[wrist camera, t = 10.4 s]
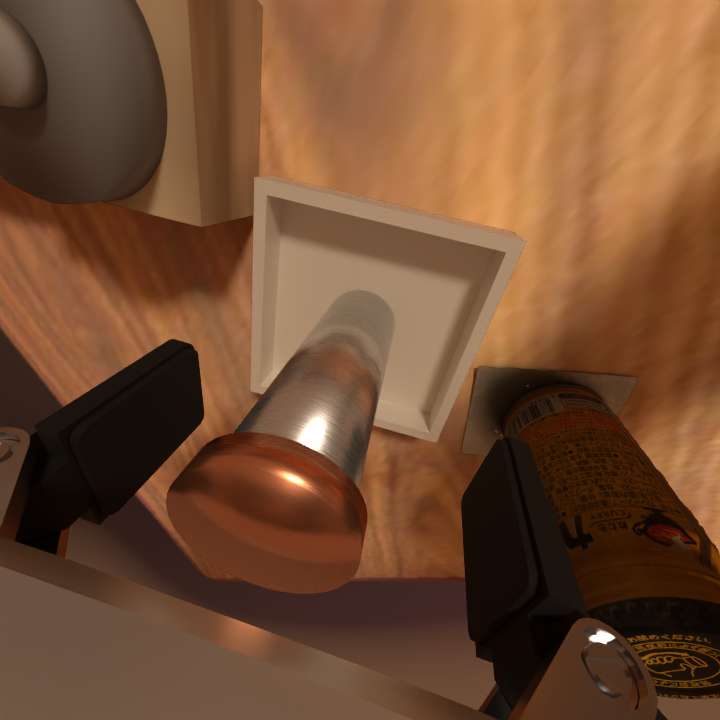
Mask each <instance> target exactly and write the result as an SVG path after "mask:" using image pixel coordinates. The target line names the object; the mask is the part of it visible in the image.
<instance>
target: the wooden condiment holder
mask: <svg viewBox="0 0 720 720" xmlns="http://www.w3.org/2000/svg"><path fill="white" fill-rule="evenodd" d="M261 48H262V5H261V4H260V3H259V2H258V1H257V0H0V177H2V178H4V179H5V180H7V181H8V182H9V183H11V184H12V185H14V186H16V187H18V188H19V189H21V190H23V191H24V192H27V193H29V194H31V195H33V196H35V197H37V198H40V199H43V200H47V201H50V202H54V203H60V204H83V203H96V202H103V203H107V204H111V205H115V206H119V207H123V208H127V209H131V210H135V211H139V212H143V213H147V214H151V215H155V216H159V217H163V218H167V219H171V220H175V221H179V222H183V223H187V224H191V225H195V226H199V227H204V226H209V225H213V224H218V223H222V222H226V221H231V220H235V219H240V218H244V217H248V216H253V215H254V177H258V176H259V134H260V91H261Z"/></svg>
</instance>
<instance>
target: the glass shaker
mask: <svg viewBox="0 0 720 720" xmlns="http://www.w3.org/2000/svg"><path fill="white" fill-rule="evenodd" d="M394 330H395V318H394V314H393V312H392V310H391V308H390V306H389V305H388V304H387V302H386V301H385V300H384V299H382V298H381V297H380V296H378V295H377V294H374V293H372V292H369V291H365V290H352V291H348V292H346V293H344V294H342V295H340V296H339V297H338V298H336V299H335V301H334V302H333V303H332V304H331V306H330V307H329V308H328V310H327V311H326V312H325V314H324V315H323V316H322V317H321V319H320V320H319V321H318V323H317V324H316V325H315V327H314V328H313V329H312V331H311V332H310V333H309V335H308V336H307V337H306V338H305V340H304V341H303V342H302V344H301V345H300V346H299V348H298V349H297V350H296V352H295V353H294V354H293V356H292V357H291V358H290V360H289V361H288V362H287V363H286V365H285V366H284V367H283V369H282V370H281V371H280V373H279V374H278V375H277V377H276V378H275V379H274V381H273V382H272V383H271V384H270V386H269V387H268V388H267V390H266V391H265V392H264V394H263V395H262V396H261V398H260V399H259V400H258V402H257V403H256V404H255V405H254V407H253V408H252V409H251V411H250V412H249V413H248V415H247V416H246V417H245V419H244V420H243V421H242V423H241V424H240V425H239V426H238V428H237V429H236V430H235V432H234V433H233V434H228V435H224V436H221V437H218V438H216V439H214V440H212V441H210V442H208V443H207V444H206V445H205V446H204V447H203V448H201V450H200V451H199V452H198V453H197V454H196V456H195V457H194V458H193V459H192V460H191V462H190V463H189V464H188V465H187V466H186V468H185V469H184V470H183V471H182V472H181V474H180V475H179V476H178V477H177V478H176V480H175V481H174V482H173V483H172V485H171V486H170V488H169V490H168V493H167V498H166V505H167V511H168V515H169V518H170V520H171V522H172V524H173V526H174V527H175V529H176V531H177V532H178V533H179V535H180V536H181V537H182V538H183V540H184V541H185V542H186V543H187V544H188V545H189V546H190V547H191V548H192V549H193V550H194V551H196V552H197V553H198V554H199V555H200V556H202V557H203V558H204V559H206V560H207V561H209V562H210V563H212V564H213V565H215V566H216V567H218V568H220V569H221V570H223V571H225V572H227V573H229V574H231V575H233V576H235V577H237V578H239V579H241V580H244V581H246V582H249V583H252V584H254V585H258V586H261V587H264V588H268V589H272V590H277V591H282V592H289V593H300V594H311V593H321V592H326V591H330V590H333V589H336V588H339V587H341V586H343V585H344V584H346V583H347V582H349V581H350V580H351V579H352V578H353V577H354V575H355V574H356V572H357V570H358V567H359V564H360V559H361V553H362V548H363V542H364V537H365V531H366V526H367V508H366V504H365V501H364V498H363V496H362V494H361V492H360V491H359V485H360V480H361V476H362V472H363V467H364V463H365V458H366V454H367V450H368V445H369V441H370V436H371V432H372V427H373V423H374V419H375V414H376V410H377V405H378V401H379V397H380V392H381V388H382V383H383V379H384V375H385V370H386V366H387V361H388V357H389V352H390V348H391V344H392V339H393V335H394Z"/></svg>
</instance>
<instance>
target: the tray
mask: <svg viewBox="0 0 720 720" xmlns="http://www.w3.org/2000/svg"><path fill="white" fill-rule="evenodd" d="M526 242H527V241H525V240H524V239H523V238H521V237H520V236H518V235H517V234H515V233H514V232H510V231H506V230H502V229H497V228H493V227H489V226H485V225H480V224H476V223H472V222H468V221H463V220H459V219H455V218H451V217H446V216H442V215H438V214H434V213H429V212H425V211H421V210H417V209H412V208H408V207H404V206H400V205H396V204H391V203H387V202H383V201H379V200H374V199H370V198H366V197H362V196H357V195H353V194H349V193H345V192H340V191H336V190H332V189H328V188H323V187H319V186H315V185H311V184H306V183H302V182H298V181H294V180H289V179H285V178H281V177H254V223H253V280H252V338H251V391H252V392H256V393H259V394H264V392H265V391H266V390H267V388H268V387H269V386H270V384H271V383H272V382H273V381H274V379H275V378H276V377H277V375H278V374H279V373H280V371H281V370H282V369H283V367H284V366H285V365H286V363H287V362H288V361H289V360H290V358H291V357H292V356H293V354H294V353H295V352H296V350H297V349H298V348H299V346H300V345H301V344H302V342H303V341H304V340H305V338H306V337H307V336H308V335H309V333H310V332H311V331H312V329H313V328H314V327H315V325H316V324H317V323H318V321H319V320H320V319H321V317H322V316H323V315H324V314H325V312H326V311H327V310H328V308H329V307H330V306H331V304H332V303H333V302H334V301H335V299H336V298H338V297H339V296H340V295H342V294H344V293H346V292H348V291H352V290H365V291H369V292H372V293H374V294H377V295H378V296H380V297H381V298H382V299H384V300H385V301H386V302H387V304H388V305H389V306H390V308H391V310H392V312H393V314H394V318H395V330H394V335H393V339H392V344H391V348H390V352H389V357H388V361H387V366H386V370H385V375H384V379H383V383H382V388H381V392H380V397H379V401H378V405H377V410H376V414H375V419H374V423H373V425H374V426H377V427H381V428H384V429H388V430H392V431H395V432H399V433H402V434H406V435H409V436H413V437H417V438H420V439H424V440H427V441H431V442H434V443H436V442H437V440H438V438H439V436H440V434H441V431H442V429H443V427H444V425H445V422H446V420H447V418H448V416H449V414H450V411H451V409H452V407H453V405H454V402H455V400H456V398H457V396H458V393H459V391H460V389H461V387H462V385H463V382H464V380H465V378H466V376H467V373H468V371H469V369H470V367H471V364H472V362H473V360H474V358H475V356H476V353H477V351H478V349H479V347H480V344H481V342H482V340H483V338H484V335H485V333H486V331H487V329H488V327H489V324H490V322H491V320H492V318H493V315H494V313H495V311H496V309H497V307H498V304H499V302H500V300H501V298H502V295H503V293H504V291H505V289H506V286H507V284H508V282H509V280H510V278H511V275H512V273H513V271H514V269H515V266H516V264H517V262H518V260H519V257H520V255H521V253H522V251H523V249H524V246H525V244H526Z"/></svg>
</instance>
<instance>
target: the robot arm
mask: <svg viewBox="0 0 720 720" xmlns="http://www.w3.org/2000/svg"><path fill="white" fill-rule="evenodd" d="M203 418H204V406H203V397H202V387H201V378H200V368H199V359H198V353H197V351H196V350H194V347H193V345H191V344H189V343H185V342H182V341H179V340H175V339H171V340H169V341H167V342H165V343H164V344H162V345H161V346H159V347H157V348H156V349H154V350H153V351H151V352H150V353H148V354H146V355H145V356H143V357H142V358H140V359H139V360H137V361H135V362H134V363H132V364H131V365H129V366H127V367H126V368H124V369H123V370H121V371H120V372H118V373H116V374H115V375H113V376H112V377H110V378H109V379H107V380H105V381H104V382H102V383H101V384H99V385H98V386H96V387H94V388H93V389H91V390H90V391H88V392H87V393H85V394H83V395H82V396H80V397H79V398H77V399H76V400H74V401H72V402H71V403H69V404H68V405H66V406H65V407H63V408H61V409H60V410H58V411H57V412H55V413H54V414H52V415H50V416H49V417H48V418H46V419H44V420H43V421H41V422H39V423H38V424H36V425H35V426H34V427H35V429H36V431H37V432H35V433H34V434H32V435H31V436H29V435H28V434H27V432H25V431H23V430H21V429H18V428H10V427H7V428H0V720H668V719H667V718H666V717H665V716H664V715H663V714H662V713H661V712H660V710H659V709H658V708H657V703H658V698H657V694H656V690H655V686H654V682H653V680H652V678H651V676H650V674H649V672H648V669H647V667H646V666H645V664H644V663H643V661H642V660H641V658H640V657H639V655H638V654H637V652H636V651H635V650H634V648H633V647H632V646H631V645H630V644H629V643H628V642H627V641H626V639H625V638H624V637H623V636H621V635H620V634H619V633H618V632H616V631H615V630H614V629H613V628H612V627H610V626H608V625H607V624H605V623H603V622H601V621H599V620H596V619H592V618H589V616H588V613H587V610H586V607H585V604H584V601H583V598H582V595H581V592H580V589H579V586H578V582H577V579H576V576H575V573H574V570H573V567H572V564H571V561H570V558H569V555H568V552H567V549H566V546H565V543H564V539H563V536H562V533H561V530H560V527H559V524H558V521H557V518H556V515H555V512H554V509H553V506H552V504H551V502H550V500H549V499H548V498H547V497H546V495H545V492H544V489H543V486H542V482H541V479H540V476H539V473H538V470H537V466H536V463H535V460H534V457H533V454H532V451H531V447H530V445H529V443H528V442H525V441H522V440H519V439H515V438H512V437H508V436H506V437H504V438H503V440H500V439H498V440H496V442H495V443H494V445H493V446H492V448H491V450H490V451H489V453H488V455H487V456H486V458H485V460H484V461H483V463H482V465H481V466H480V468H479V469H478V471H477V473H476V474H475V476H474V478H473V479H472V481H471V483H470V484H469V486H468V488H467V489H466V491H465V493H464V495H463V497H462V503H461V510H462V528H463V546H464V564H465V581H466V598H467V617H468V632H469V636H470V639H471V640H472V641H475V643H476V657H478V658H481V659H484V660H486V661H489V662H492V663H493V667H494V677H495V681H496V684H495V686H494V687H493V689H492V690H491V692H490V693H489V695H488V696H487V698H486V699H485V701H484V702H483V704H482V705H481V707H480V708H479V710H475V709H473V708H470V707H468V706H465V705H462V704H460V703H457V702H455V701H452V700H450V699H447V698H444V697H442V696H440V695H437V694H434V693H432V692H429V691H427V690H424V689H422V688H419V687H417V686H414V685H411V684H409V683H406V682H404V681H401V680H399V679H396V678H393V677H390V676H388V675H385V674H382V673H380V672H377V671H374V670H371V669H369V668H366V667H363V666H361V665H358V664H355V663H352V662H350V661H347V660H344V659H342V658H339V657H336V656H333V655H331V654H328V653H325V652H323V651H320V650H317V649H315V648H312V647H309V646H306V645H304V644H301V643H298V642H296V641H293V640H290V639H287V638H285V637H282V636H279V635H276V634H274V633H271V632H268V631H265V630H263V629H260V628H257V627H254V626H251V625H249V624H246V623H243V622H240V621H238V620H235V619H232V618H230V617H227V616H224V615H221V614H218V613H216V612H213V611H210V610H207V609H205V608H202V607H199V606H197V605H194V604H191V603H188V602H186V601H183V600H180V599H177V598H175V597H172V596H169V595H166V594H164V593H161V592H158V591H155V590H152V589H149V588H147V587H144V586H141V585H138V584H136V583H133V582H130V581H127V580H124V579H121V578H119V577H116V576H113V575H110V574H108V573H104V572H102V571H99V570H96V569H94V568H91V567H88V566H85V565H82V564H79V563H77V562H74V561H71V560H68V559H66V558H65V557H66V552H67V547H68V541H69V536H70V530H71V525H72V524H73V523H74V522H75V521H76V520H77V519H78V518H79V517H81V519H84V520H87V521H90V522H93V523H95V524H98V525H100V524H101V523H102V522H103V521H104V520H105V519H106V518H107V517H108V516H109V515H113V514H115V513H116V512H118V511H119V510H120V509H121V508H122V507H123V506H124V505H125V504H126V503H127V501H128V500H129V499H130V498H131V497H132V496H133V495H134V494H135V493H136V492H137V491H138V490H139V489H140V488H141V487H142V485H143V484H144V483H145V482H146V481H147V480H148V479H149V478H150V477H151V476H152V475H153V474H154V473H155V472H156V471H157V470H158V468H159V467H160V466H161V465H162V464H163V463H164V462H165V461H166V460H167V459H168V458H169V457H170V456H171V455H172V454H173V452H174V451H175V450H176V449H177V448H178V447H179V446H180V445H181V444H182V443H183V442H184V441H185V440H186V439H187V438H188V437H189V435H190V434H191V433H192V432H193V431H194V430H195V429H196V428H197V427H198V426H199V425H200V424H201V422H202V420H203Z"/></svg>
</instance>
